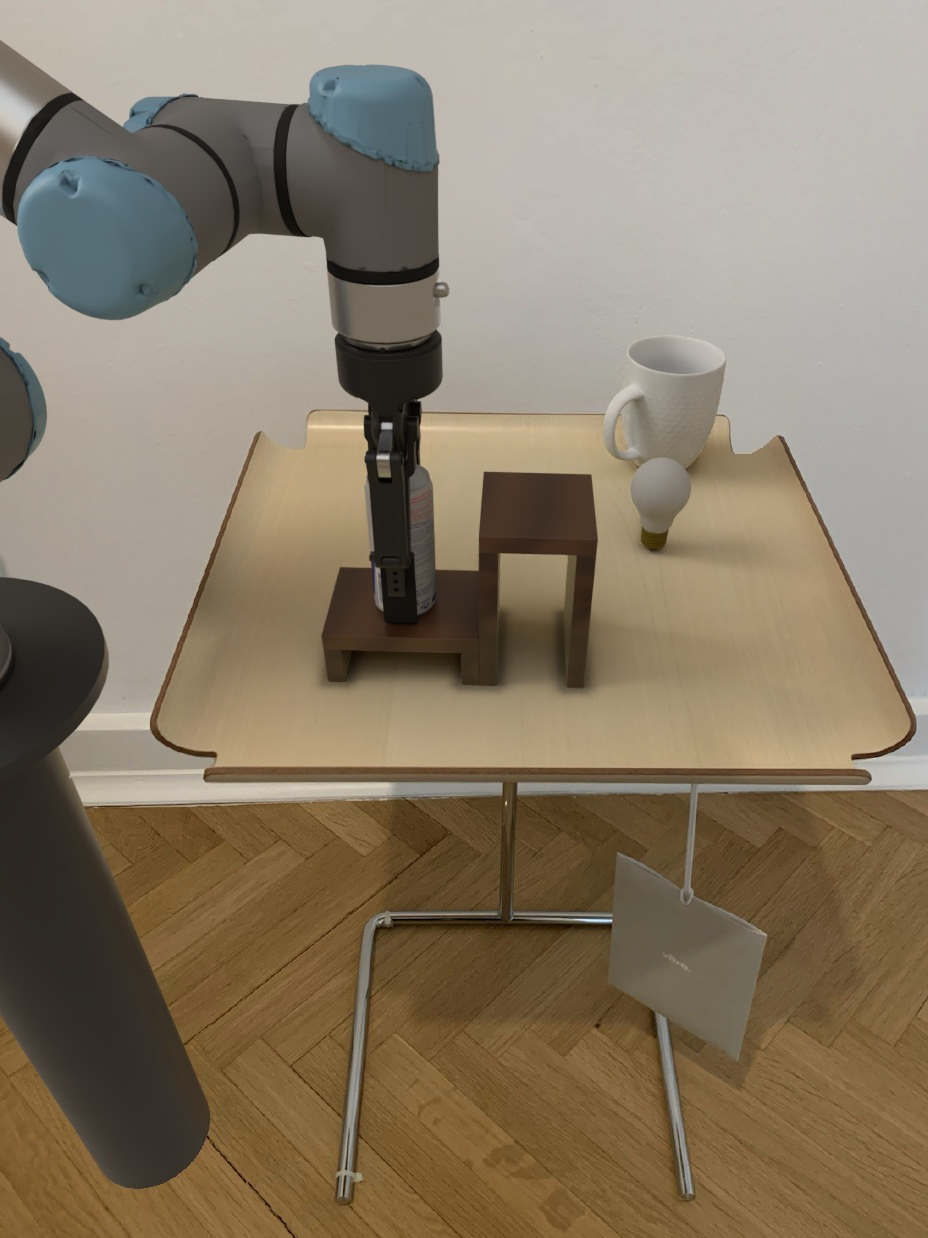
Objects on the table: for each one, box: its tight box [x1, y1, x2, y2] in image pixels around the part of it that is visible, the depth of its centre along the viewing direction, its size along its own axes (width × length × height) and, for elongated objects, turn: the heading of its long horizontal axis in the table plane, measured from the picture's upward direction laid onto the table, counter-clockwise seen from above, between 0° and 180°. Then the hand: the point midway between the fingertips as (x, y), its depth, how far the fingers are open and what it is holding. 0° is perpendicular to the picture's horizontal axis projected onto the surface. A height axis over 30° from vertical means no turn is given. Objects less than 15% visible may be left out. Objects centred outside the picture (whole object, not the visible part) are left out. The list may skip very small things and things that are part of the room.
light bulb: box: [630, 457, 692, 551], centre depth 94 cm, size 6×6×10 cm
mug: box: [602, 334, 727, 470], centre depth 106 cm, size 15×11×13 cm
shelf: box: [320, 471, 599, 689], centre depth 80 cm, size 22×10×15 cm, turn 89°
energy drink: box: [363, 464, 437, 616], centre depth 77 cm, size 5×5×12 cm
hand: (404, 598), depth 81 cm, fingers closed on energy drink, 5 cm apart
